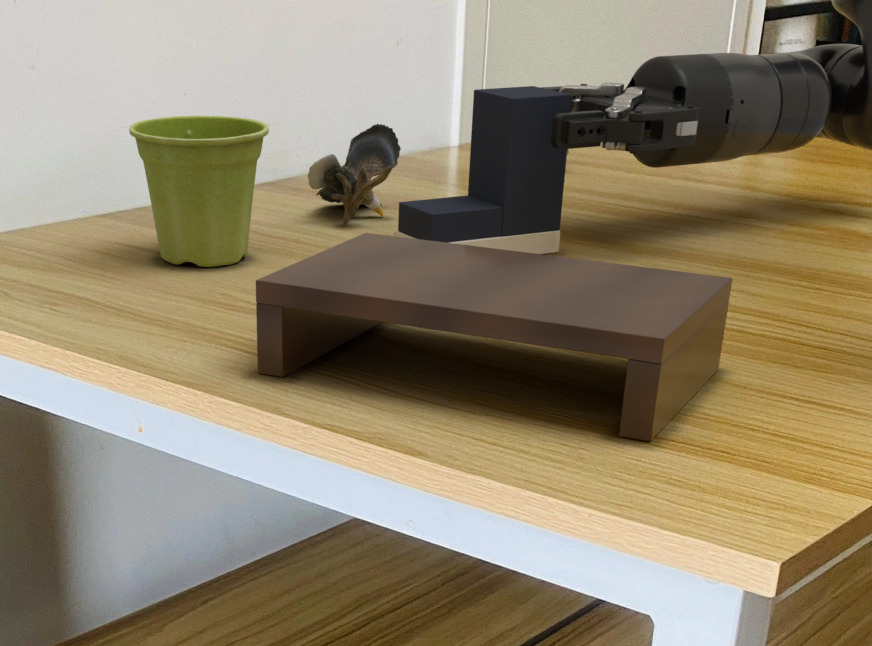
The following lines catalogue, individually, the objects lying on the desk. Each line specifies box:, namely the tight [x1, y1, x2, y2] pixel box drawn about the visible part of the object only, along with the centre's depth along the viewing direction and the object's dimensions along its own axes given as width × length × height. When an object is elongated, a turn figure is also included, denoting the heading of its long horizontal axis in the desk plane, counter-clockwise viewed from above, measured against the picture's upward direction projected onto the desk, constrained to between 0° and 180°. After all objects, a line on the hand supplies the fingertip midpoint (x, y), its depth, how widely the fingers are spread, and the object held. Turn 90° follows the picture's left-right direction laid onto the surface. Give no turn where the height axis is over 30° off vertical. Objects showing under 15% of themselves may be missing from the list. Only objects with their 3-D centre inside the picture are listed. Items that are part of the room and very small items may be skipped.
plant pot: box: [128, 115, 270, 268], centre depth 95 cm, size 9×9×9 cm
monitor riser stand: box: [255, 232, 733, 442], centre depth 74 cm, size 22×13×5 cm, turn 62°
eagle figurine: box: [307, 123, 402, 227], centre depth 108 cm, size 8×7×9 cm
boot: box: [393, 85, 572, 255], centre depth 96 cm, size 11×5×10 cm, turn 117°
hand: (520, 123), depth 96 cm, fingers open, 8 cm apart
